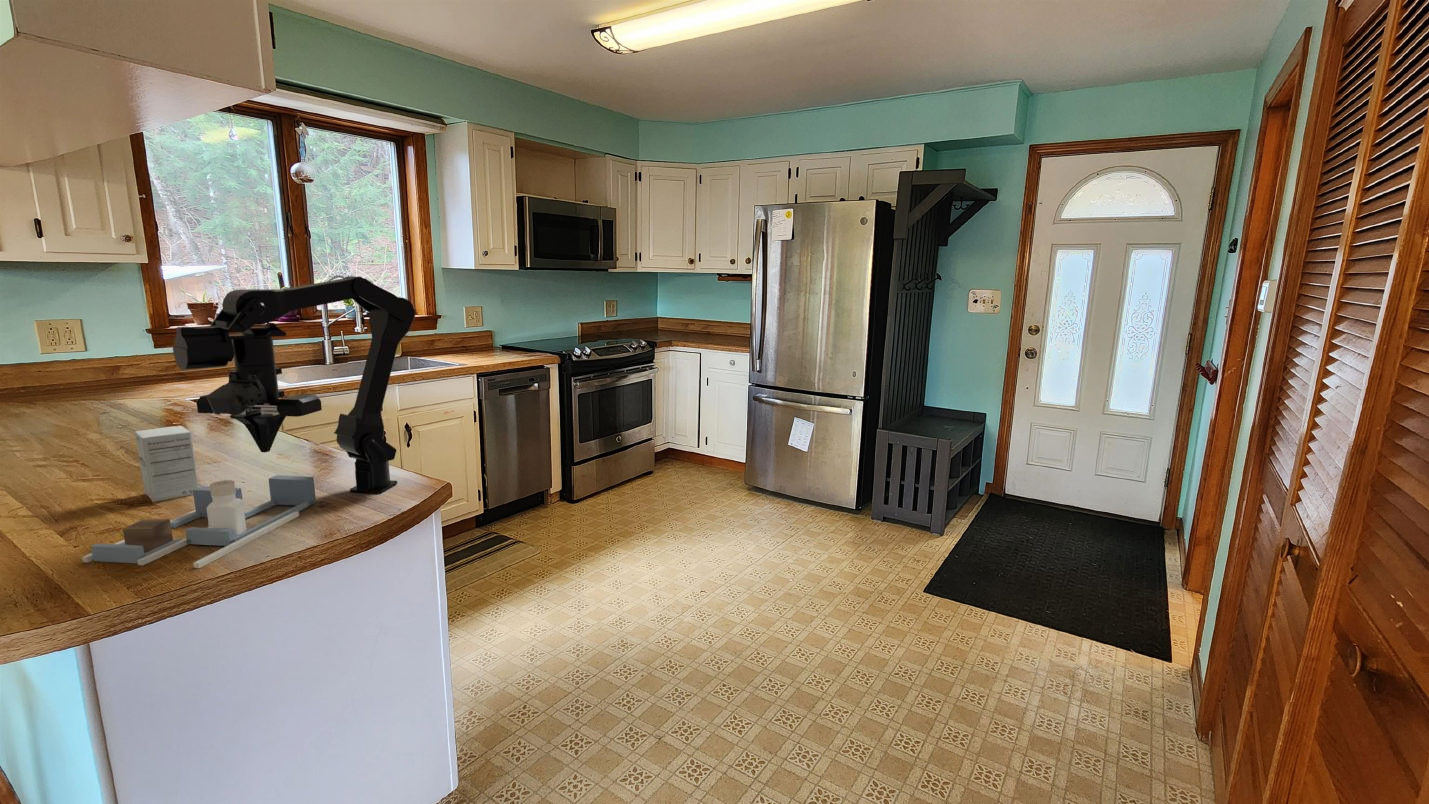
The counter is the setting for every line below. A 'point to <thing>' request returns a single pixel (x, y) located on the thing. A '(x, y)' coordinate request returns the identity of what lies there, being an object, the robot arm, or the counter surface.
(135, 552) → the broken strip
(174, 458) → the supplement box
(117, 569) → the counter surface
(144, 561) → the lane rails
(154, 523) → the walnut cube
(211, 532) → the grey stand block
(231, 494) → the pepper shaker
